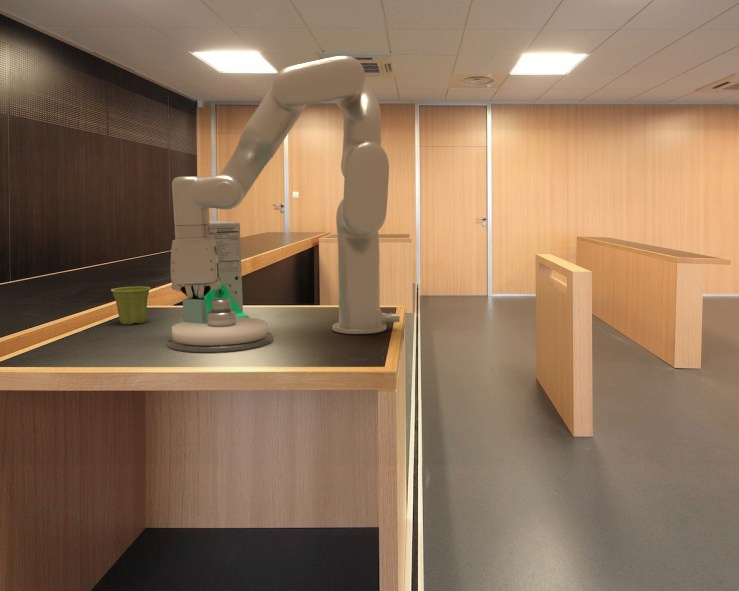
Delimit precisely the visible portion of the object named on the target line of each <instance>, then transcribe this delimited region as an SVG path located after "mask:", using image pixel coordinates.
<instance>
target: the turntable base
mask: <svg viewBox="0 0 739 591" xmlns="http://www.w3.org/2000/svg"><path fill="white" fill-rule="evenodd" d="M273 340H274V336H273V333H271V332H270V331H268V335H267V336H266V337H265V338H262V339H260V340H256V341H252V342H247V343H240V344H231V345H213V346H202V345H187V344H181V343H177V342H175V341H173V340H172V336H170V337H169V338H168V339H167V342H166V343H167V344H166V345H167V347H168V348H169V349H170V350H173V351H178V352H183V353H190V354H191V353H195V354H215V353H214V352H224V353H233V352H243V351H248V350H249V351H250V350H255V349H258V348H262V347H266V346H268V345H269V344H271V343H272V342H273Z"/></svg>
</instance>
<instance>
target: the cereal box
mask: <svg viewBox="0 0 739 591" xmlns="http://www.w3.org/2000/svg"><path fill="white" fill-rule="evenodd" d="M209 225H211V227H213V228H217V233H215V234H212V235H211V236H210V237H211V239H214V240H215V243H216V248H217V253H218V260H219V269H220V279H219V281H220V284H222V285H224V286H226V287H227V289H228V292H229V294H230V295H231V297H232V298H233V299H234V301H235V302H236V304H237V305H238V307H239V308H240V310H241V311H242V313H244V308H243V307H244V306H243V280H242V279H243V277H242V276H243V274H242V271H243V270H242V249H241V247H242V246H241V223H240V221H223V220H222V221H221V220H210V224H209ZM212 284H213V283H212ZM208 285H211V284H207V286H208ZM193 286H194V290H195V294H196V297H197V295H198V289H199V285H193ZM220 294H221V290H220V289H218V290H216V292H215V295H216V296H219V295H220Z"/></svg>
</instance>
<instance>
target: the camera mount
mask: <svg viewBox="0 0 739 591" xmlns="http://www.w3.org/2000/svg"><path fill="white" fill-rule="evenodd" d="M220 285H221V287H220V288H218V289H220V290H221V294H220V295H219V296H216V295H215V292H216V290H218V289H214V290H211V291H209V292H208V293H207V294H206V296H205V297H204V300H206V315H207V312H208V311H212V305H211V300H213V299H230V300H231V310H234V311H236V317H244V318H250V317H249V315H248V314H246V313H244V312H243V313H242V311H241V310H240V308H239V307H238V305H237V304H236V302H235V301H234V299H233V298H232V297H231V295H230V294H229V292H228V289H227V287H226V286H224V285H222V284H220Z"/></svg>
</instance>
